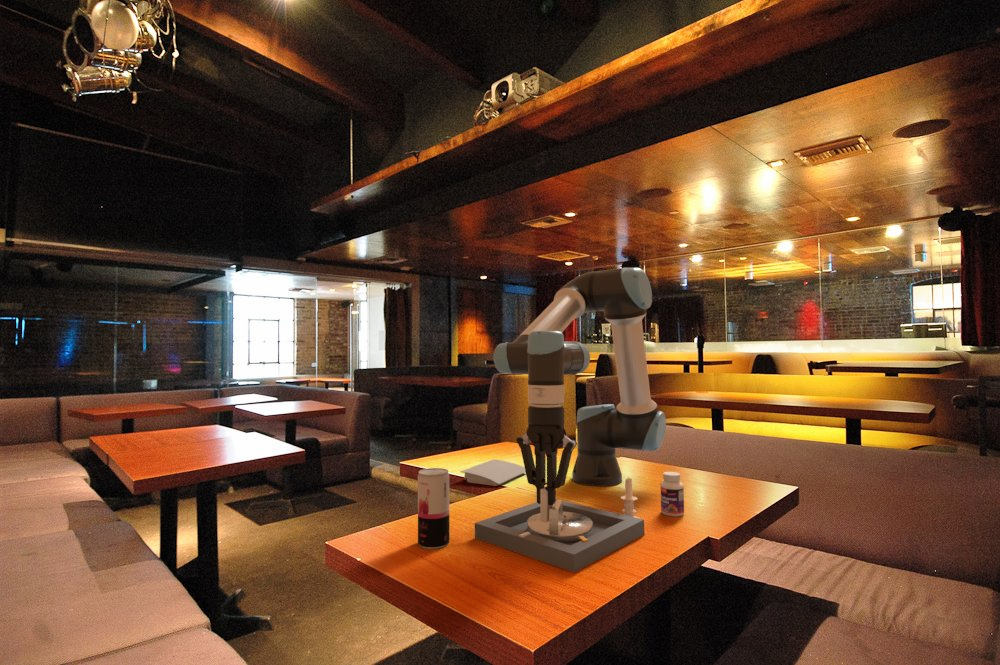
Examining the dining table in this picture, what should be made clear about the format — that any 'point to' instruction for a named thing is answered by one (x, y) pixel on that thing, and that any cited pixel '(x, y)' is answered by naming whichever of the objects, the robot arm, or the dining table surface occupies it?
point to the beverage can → (433, 508)
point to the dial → (561, 525)
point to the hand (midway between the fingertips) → (546, 520)
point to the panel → (571, 556)
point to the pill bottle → (672, 495)
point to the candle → (629, 499)
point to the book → (493, 472)
